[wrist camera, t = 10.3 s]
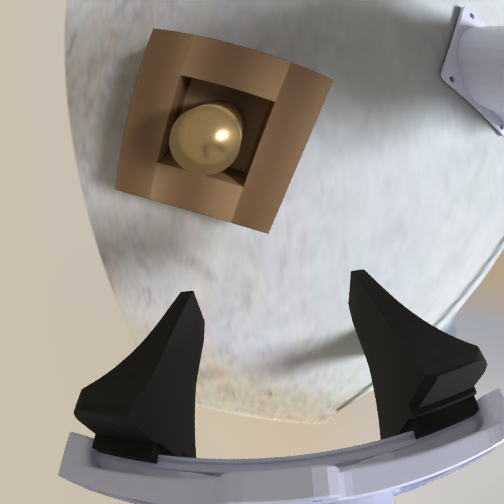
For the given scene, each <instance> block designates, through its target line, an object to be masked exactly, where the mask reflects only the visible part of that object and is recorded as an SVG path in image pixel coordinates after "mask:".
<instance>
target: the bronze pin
mask: <svg viewBox="0 0 504 504" xmlns="http://www.w3.org/2000/svg"><path fill="white" fill-rule="evenodd" d="M243 129H244V118H243V115H242V113H241V111H240V109H239V108H238V107H237V106H236V105H234V104H233V103H231V102H229V101H226V100H213V101H210V102H207V103H205V104H202V105H200V106H197V107H195V108H193V109H190V110H188V111H186V112H185V113H183V114H182V115H181V116H180V117H179V118H178V119H177V120H176V121H175V123H174V125H173V127H172V129H171V132H170V136H169V146H170V150H171V153H172V156H173V157H174V159H175V160H176V162H177V163H178V164H179V165H180V166H181V167H182V168H183V169H185V170H187V171H189V172H191V173H194V174H197V175H213V174H216V173H219V172H221V171H223V170H225V169H226V168H228V167H229V166H230V165H231V164H232V163H233V162H234V160H235V159H236V157H237V155H238V153H239V150H240V145H241V140H242V134H243Z"/></svg>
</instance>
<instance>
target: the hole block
mask: <svg viewBox="0 0 504 504" xmlns="http://www.w3.org/2000/svg"><path fill="white" fill-rule="evenodd" d="M332 81H333V80H332V79H330V78H328V77H326V76H323V75H321V74H319V73H316V72H314V71H312V70H309V69H307V68H304V67H302V66H299V65H297V64H294V63H291V62H289V61H286V60H283V59H280V58H277V57H274V56H272V55H269V54H265V53H262V52H259V51H256V50H253V49H249V48H246V47H242V46H239V45H235V44H231V43H228V42H224V41H220V40H215V39H211V38H206V37H202V36H197V35H192V34H186V33H181V32H175V31H168V30H161V29H153V31H152V34H151V36H150V39H149V42H148V45H147V48H146V51H145V54H144V57H143V61H142V64H141V67H140V70H139V74H138V77H137V81H136V85H135V88H134V92H133V96H132V100H131V104H130V108H129V113H128V117H127V122H126V126H125V131H124V136H123V141H122V147H121V152H120V158H119V165H118V171H117V178H116V185H115V190H118V191H122V192H126V193H129V194H133V195H136V196H140V197H144V198H147V199H151V200H154V201H158V202H162V203H165V204H169V205H172V206H176V207H179V208H183V209H186V210H190V211H193V212H197V213H200V214H203V215H207V216H210V217H214V218H217V219H221V220H224V221H227V222H231V223H234V224H237V225H241V226H244V227H247V228H251V229H254V230H257V231H261V232H264V233H267V234H268V233H269V231H270V229H271V226H272V224H273V222H274V219H275V217H276V214H277V212H278V210H279V207H280V205H281V203H282V200H283V198H284V196H285V193H286V191H287V189H288V186H289V184H290V182H291V179H292V177H293V174H294V172H295V170H296V167H297V165H298V163H299V160H300V158H301V156H302V153H303V151H304V148H305V146H306V144H307V141H308V139H309V137H310V134H311V132H312V129H313V127H314V125H315V122H316V120H317V117H318V115H319V113H320V110H321V108H322V105H323V103H324V101H325V98H326V96H327V93H328V91H329V89H330V86H331V84H332ZM213 100H226V101H229V102H231V103H233V104H234V105H236V106H237V107H238V108H239V109H240V111H241V113H242V115H243V118H244V129H243V134H242V140H241V145H240V150H239V153H238V155H237V157H236V159H235V160H234V162H233V163H232V164H231V165H230V166H229V167H228V168H226V169H225V170H223V171H221V172H219V173H216V174H213V175H197V174H194V173H191V172H189V171H187V170H185V169H183V168H182V167H181V166H180V165H179V164H178V163H177V162H176V160H175V159H174V157H173V156H172V153H171V150H170V146H169V136H170V132H171V129H172V127H173V125H174V123H175V121H176V120H177V119H178V118H179V117H180V116H181V115H182V114H183V113H185V112H186V111H188V110H190V109H193V108H195V107H197V106H200V105H202V104H205V103H207V102H210V101H213Z"/></svg>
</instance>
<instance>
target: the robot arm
mask: <svg viewBox="0 0 504 504" xmlns="http://www.w3.org/2000/svg"><path fill="white" fill-rule="evenodd" d="M470 15H471V17H470ZM450 77H451V78H452V82H451V81H450ZM441 78H442V79H443V81H445V82H446V83H447V84H448V85H450V86H451V87H452V88H453V89H454V90H456V91H457V92H458V93H459V94H460V95H461V96H463V97H464V98H465V99H466V100H467V101H468V102H469V103H470V104H471V105H472V106H474V107H475V108H476V109H477V110H478V111H479V112H480V113H481V114H482V115H483V116H484V117H485V118H486V119H487V120H488V121H489V122H490V123H491V124H492V125H493V126H494V127H495V128H496V129H497V130H498V132H499V133H500V134H501V135H502V136H503V137H504V26H490V27H487V26H486V25H485V24H484V23H483V22H482V21H481V20H480V19H479V18H478V17H477V16H476V15H475V14H474V13H473V12H472V11H471V10H470V9H469V8H467V7H461V10H460V13H459V17H458V21H457V24H456V27H455V31H454V34H453V37H452V41H451V44H450V47H449V50H448V53H447V56H446V59H445V62H444V64H443V67H442V70H441ZM348 304H349V309H350V313H351V317H352V321H353V324H354V327H355V330H356V332H357V335H358V338H359V340H360V343H361V346H362V348H363V351H364V354H365V356H366V359H367V362H368V365H369V369H370V373H371V378H372V382H373V387H374V392H375V398H376V403H377V411H378V418H379V426H380V436H381V440H379V441H375V442H371V443H366V444H362V445H358V446H353V447H349V448H344V449H338V450H332V451H326V452H320V453H313V454H306V455H297V456H287V457H275V458H259V459H202V458H196V448H195V393H196V382H197V375H198V370H199V364H200V359H201V353H202V348H203V342H204V325H205V321H204V318H203V316H202V313H201V310H200V308H199V305H198V302H197V300H196V297H195V294H194V291H186V292H181V293H180V294H179V295H178V297H177V298H176V299H175V301H174V302H173V304H172V305H171V306H170V308H169V309H168V310H167V312H166V313H165V315H164V316H163V317H162V319H161V320H160V321H159V323H158V324H157V325H156V326H155V328H154V329H153V330H152V331H151V332H150V334H149V335H148V336H147V337H146V338H145V340H144V341H143V342H142V343H141V344H140V345H139V346H138V347H137V348H136V349H135V350H134V351H133V352H132V353H131V354H130V355H129V356H128V357H127V358H125V359H124V360H123V361H122V362H121V363H120V364H119V365H117V366H116V367H115V368H114V369H113V370H111V371H110V372H108V373H107V374H105V375H104V376H103V377H101V378H100V379H98V380H97V381H95V382H93V383H92V384H90V385H88V386H87V387H85V388H83V389H82V390H81V393H80V395H79V398H78V401H77V404H76V407H75V410H74V415H75V417H76V418H77V419H78V420H79V421H80V422H81V423H82V424H84V425H85V426H86V427H87V428H89V429H90V430H91V431H93V432H94V433H95V438H94V439H93V438H91V437H88V436H84V435H81V434H77V433H74V432H70V434H69V437H68V441H67V444H66V447H65V451H64V455H63V459H62V462H61V466H60V470H59V476H60V477H62V478H65V479H66V480H68V481H71V482H73V483H75V484H77V485H79V486H82V487H84V488H86V489H88V490H91V491H94V492H97V493H100V494H103V495H106V496H110V497H112V498H116V499H119V500H123V501H127V502H130V503H135V504H395V502H394V496H396V495H399V494H401V493H404V492H407V491H410V490H413V489H415V488H418V487H420V486H423V485H426V484H428V483H430V482H433V481H435V480H437V479H439V478H442V477H444V476H446V475H448V474H450V473H453V472H455V471H456V470H459V469H460V468H463V467H464V466H467V465H469V464H470V463H472V462H474V461H476V460H478V459H480V458H481V457H483V456H485V455H487V454H488V453H490V452H491V451H493V450H494V449H496V448H497V447H499V446H500V445H501V444H503V443H504V396H503V394H502V392H501V389H500V388H498V389H496V390H494V391H492V392H490V393H488V394H486V395H484V396H483V397H481V398H479V399H478V400H477V401H476V399H475V397H474V395H475V394H476V389H475V387H474V385H475V384H476V383H477V381H478V380H479V379H480V378H481V376H482V375H483V373H484V372H485V370H486V367H487V362H486V360H485V358H484V356H483V354H482V353H481V351H480V349H479V348H478V346H476V345H473V344H470V343H467V342H465V341H462V340H460V339H457V338H455V337H453V336H451V335H449V334H447V333H445V332H443V331H441V330H439V329H437V328H436V327H434V326H432V325H430V324H429V323H427V322H425V321H424V320H422V319H421V318H419V317H418V316H417V315H415V314H414V313H412V312H411V311H410V310H408V309H407V308H406V307H404V306H403V305H402V304H401V303H399V302H398V301H397V300H396V299H395V298H394V297H393V296H391V295H390V294H389V293H388V292H387V291H386V290H385V289H384V288H383V287H382V286H381V285H380V284H378V283H377V282H376V281H375V280H374V279H373V278H372V277H371V276H370V275H369V274H368V273H367V272H366V271H365V270H364V269H363V270H356V271H351V279H350V292H349V303H348ZM351 465H354V466H351Z"/></svg>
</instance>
